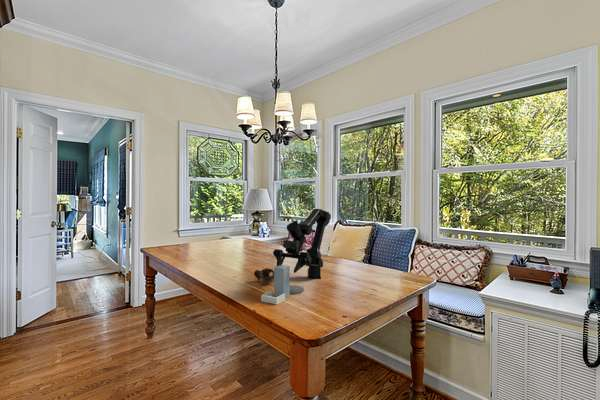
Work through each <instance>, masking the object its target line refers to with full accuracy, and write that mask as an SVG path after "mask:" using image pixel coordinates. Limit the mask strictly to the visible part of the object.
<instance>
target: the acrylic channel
mask: <svg viewBox="0 0 600 400" xmlns="http://www.w3.org/2000/svg"><path fill="white" fill-rule="evenodd" d="M260 299H261V302H263V303H268V304H273V305H278V304H280V303H282V302H283V301H285V300H286V297H285V293H283V294H282V295H280V296H278V297H275V296H273V291H272V290H269V291H267V292H266V293H263V294H262V295H261V297H260Z"/></svg>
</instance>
